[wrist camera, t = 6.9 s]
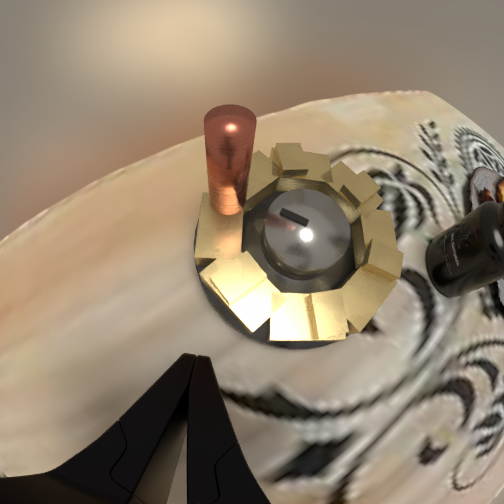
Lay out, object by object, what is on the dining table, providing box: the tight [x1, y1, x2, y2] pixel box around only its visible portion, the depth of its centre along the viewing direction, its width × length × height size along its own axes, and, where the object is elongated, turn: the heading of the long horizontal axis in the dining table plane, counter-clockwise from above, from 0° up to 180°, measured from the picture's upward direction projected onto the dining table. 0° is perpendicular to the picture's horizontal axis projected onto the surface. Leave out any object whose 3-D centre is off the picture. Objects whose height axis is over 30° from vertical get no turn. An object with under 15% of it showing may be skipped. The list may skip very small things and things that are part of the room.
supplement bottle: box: [427, 201, 504, 297], centre depth 18 cm, size 7×7×12 cm
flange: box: [194, 189, 355, 349], centre depth 20 cm, size 16×16×5 cm
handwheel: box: [194, 105, 404, 342], centre depth 16 cm, size 15×15×10 cm
